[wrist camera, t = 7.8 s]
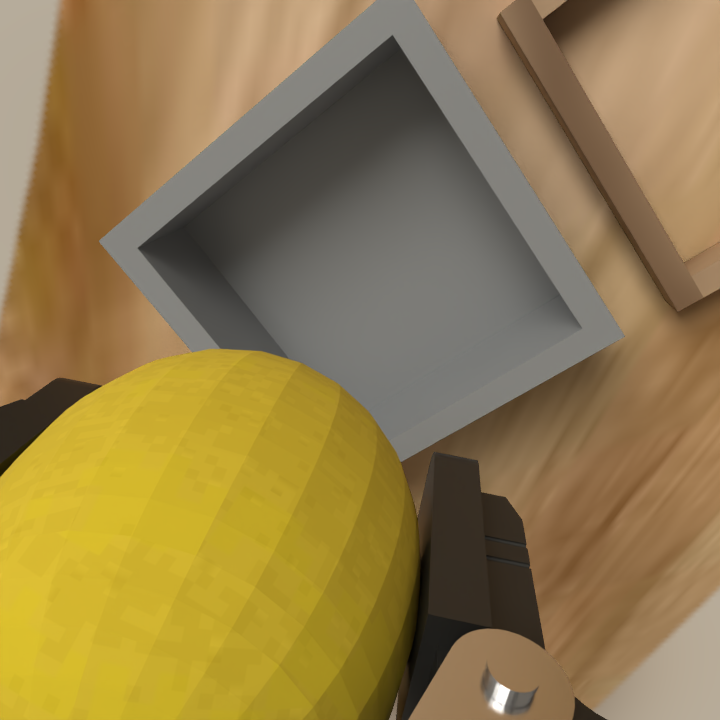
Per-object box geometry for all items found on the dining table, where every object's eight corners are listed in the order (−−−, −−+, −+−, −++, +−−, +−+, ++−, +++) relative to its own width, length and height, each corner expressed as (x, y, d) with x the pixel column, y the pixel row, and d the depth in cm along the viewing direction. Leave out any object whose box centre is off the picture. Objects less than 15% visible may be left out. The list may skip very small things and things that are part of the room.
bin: (410, 5, 22) (400, -21, 18) (592, 294, 25) (625, 336, 21) (159, 217, 26) (98, 241, 22) (341, 444, 29) (322, 506, 25)
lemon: (125, 489, 13) (-293, 990, 6) (176, 240, 11) (-400, 533, 3) (373, 578, 13) (279, 1188, 6) (475, 349, 11) (536, 864, 3)
